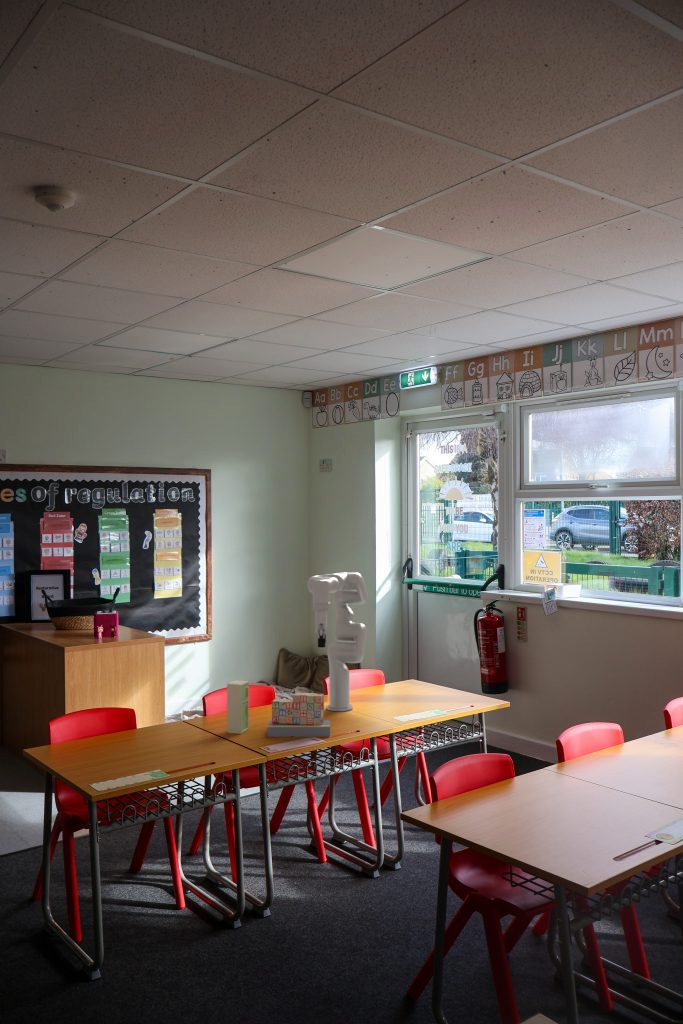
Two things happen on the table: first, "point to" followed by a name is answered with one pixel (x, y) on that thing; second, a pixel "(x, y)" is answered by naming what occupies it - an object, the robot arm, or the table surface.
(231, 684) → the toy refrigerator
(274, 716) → the stack of blocks
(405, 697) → the table surface
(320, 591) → the robot arm
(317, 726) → the block
